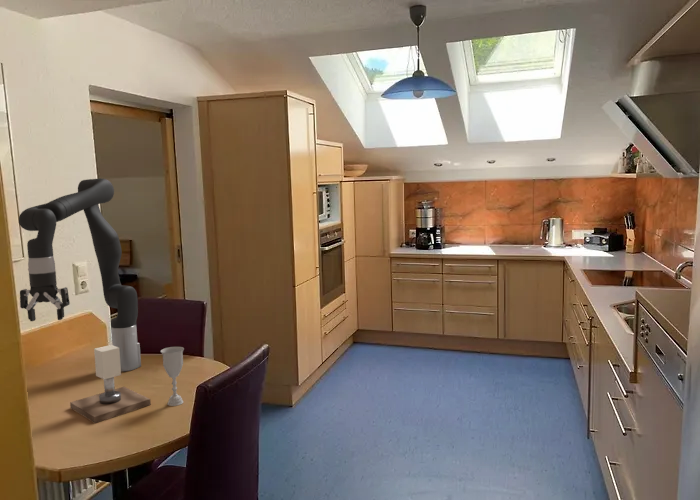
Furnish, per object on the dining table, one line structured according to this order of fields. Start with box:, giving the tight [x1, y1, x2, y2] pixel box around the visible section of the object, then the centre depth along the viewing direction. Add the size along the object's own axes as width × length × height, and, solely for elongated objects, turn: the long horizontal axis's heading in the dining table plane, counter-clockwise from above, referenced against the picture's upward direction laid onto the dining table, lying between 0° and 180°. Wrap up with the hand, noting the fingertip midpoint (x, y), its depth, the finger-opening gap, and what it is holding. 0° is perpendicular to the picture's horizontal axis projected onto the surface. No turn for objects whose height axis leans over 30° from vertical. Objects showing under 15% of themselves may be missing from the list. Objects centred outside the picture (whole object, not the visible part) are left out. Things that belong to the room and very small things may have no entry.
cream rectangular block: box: [93, 344, 122, 380], centre depth 174 cm, size 6×6×9 cm
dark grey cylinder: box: [99, 377, 121, 404], centre depth 175 cm, size 6×6×10 cm
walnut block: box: [69, 386, 151, 424], centre depth 176 cm, size 18×18×2 cm
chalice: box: [160, 346, 185, 407], centre depth 177 cm, size 7×7×18 cm
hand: (46, 320), depth 175 cm, fingers open, 8 cm apart
